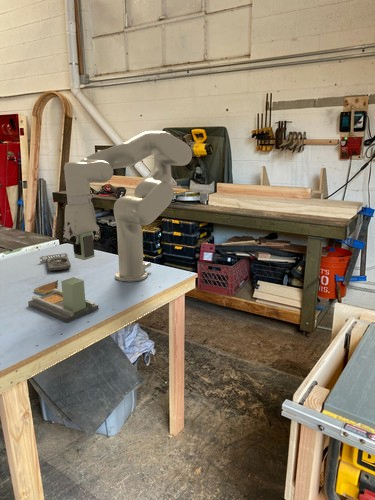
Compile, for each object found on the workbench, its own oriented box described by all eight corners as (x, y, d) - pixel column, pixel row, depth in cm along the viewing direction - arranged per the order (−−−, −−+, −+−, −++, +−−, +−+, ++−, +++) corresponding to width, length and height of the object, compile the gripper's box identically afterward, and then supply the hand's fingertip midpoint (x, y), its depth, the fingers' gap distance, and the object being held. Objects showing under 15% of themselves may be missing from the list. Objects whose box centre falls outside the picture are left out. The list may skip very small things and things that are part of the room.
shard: (58, 283, 142) (57, 279, 142) (72, 287, 138) (71, 283, 138) (33, 292, 133) (32, 288, 133) (47, 297, 129) (47, 292, 129)
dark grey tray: (60, 294, 131) (59, 287, 130) (98, 309, 120) (98, 301, 119) (28, 305, 122) (27, 298, 121) (67, 323, 110) (66, 314, 109)
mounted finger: (74, 303, 120) (72, 276, 118) (85, 307, 117) (83, 280, 115) (62, 307, 117) (59, 280, 114) (73, 312, 114) (71, 284, 111)
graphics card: (39, 255, 164) (67, 252, 169) (40, 263, 166) (68, 260, 170) (41, 267, 150) (72, 263, 154) (42, 276, 151) (73, 272, 155)
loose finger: (85, 254, 133) (82, 229, 131) (95, 257, 130) (93, 232, 128) (74, 257, 130) (72, 232, 127) (85, 260, 127) (82, 234, 124)
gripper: (91, 195, 133) (95, 245, 138) (50, 202, 120) (56, 256, 125) (106, 197, 129) (109, 248, 134) (64, 204, 116) (70, 260, 121)
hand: (84, 251), depth 130 cm, fingers closed on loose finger, 4 cm apart
